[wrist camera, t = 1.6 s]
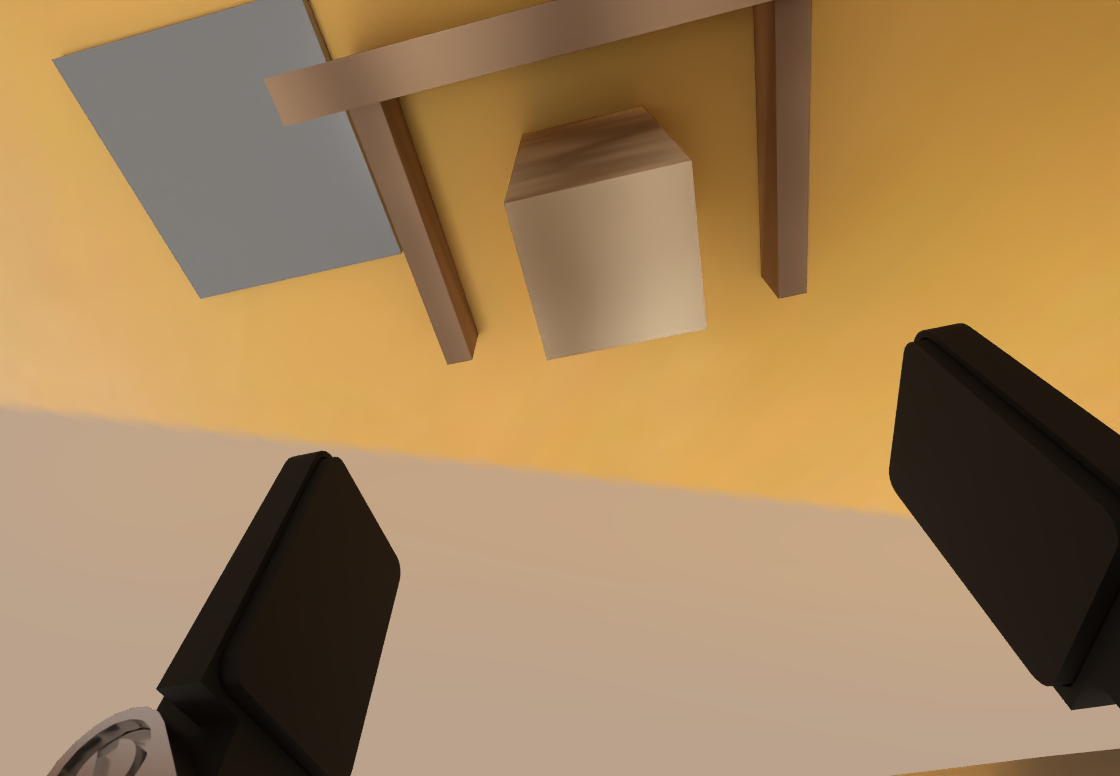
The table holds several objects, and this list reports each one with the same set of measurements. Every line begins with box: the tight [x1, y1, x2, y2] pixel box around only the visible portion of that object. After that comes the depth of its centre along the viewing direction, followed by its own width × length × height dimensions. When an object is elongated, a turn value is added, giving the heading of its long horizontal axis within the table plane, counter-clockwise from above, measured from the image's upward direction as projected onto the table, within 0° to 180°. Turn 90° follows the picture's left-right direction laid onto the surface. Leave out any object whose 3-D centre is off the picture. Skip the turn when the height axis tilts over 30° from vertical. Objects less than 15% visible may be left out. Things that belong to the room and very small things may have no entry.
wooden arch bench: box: [264, 0, 812, 365], centre depth 21 cm, size 16×13×8 cm
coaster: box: [52, 0, 403, 299], centre depth 24 cm, size 10×10×1 cm
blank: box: [504, 106, 707, 360], centre depth 20 cm, size 5×5×10 cm
